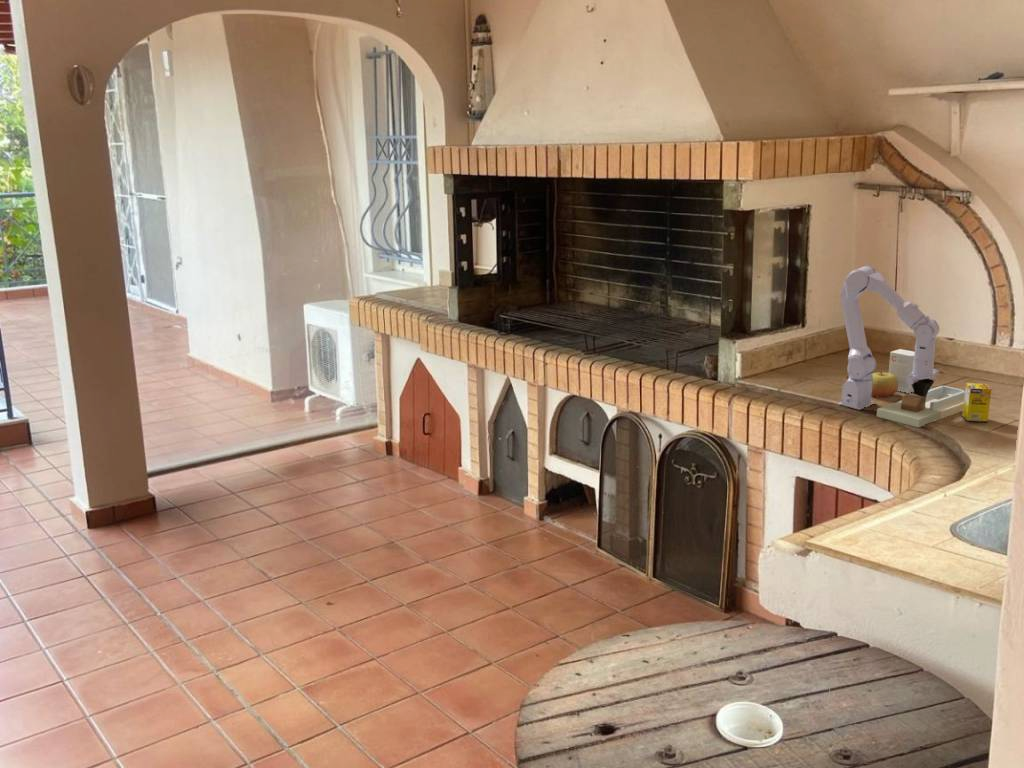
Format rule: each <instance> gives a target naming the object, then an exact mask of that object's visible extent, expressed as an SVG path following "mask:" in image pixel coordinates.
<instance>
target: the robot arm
mask: <svg viewBox="0 0 1024 768" xmlns="http://www.w3.org/2000/svg"><path fill="white" fill-rule="evenodd" d="M864 291H867V292H874V293H877V294H878V295H880V297H882V298H883V299H884V300H886V302H887V303H889V304H890V305H891V306H892V307H893V308H894V309H895V310H896V316H897V317H898V318H899V319H900V320H901V321H902V322H903V323H904V324H905V325H906V326H907V327H908V328H909V329H911V330H912V331H913V336H914V338H915V346H914V352H915V354H914V364H913V372H912V373H911V374H910V375H909V376H908V377H906V383H907V384H911V385H912V387H913V390H914V392H913V394H916V395H920V396H925V397H926V396H927V393H928V391H929V390H930V388H931V387H932V386H933V384H934V382H935V380H933V379H936V378H937V377H939V370H938V369H936V368H934V366H935V365H934V364H935V356H936V355H935V354H936V346H937V345H936V344H937V343H936V341H937V336H938V334H939V333H940V325H939V324H938V322H937V321H936V320H935V319H934V318H933V319H932V318H931V317H930V316H929V315H925V313H923V311H922V310H920V309H919V307H920V306H919V305H918V303H914V302H912V301H911V302H910V301H905V299H903V297H901V296H900V295H899V293H898V292H897V290H895V289H894V288H893V287H892V286H891V284H890V283H888V282H887V281H886V280H885V278H884V277H883V275H882V274H881V273H880V272H878V271H877V270H876V269H875V268H874V267H873V266H871V265H864V266H861V267H860V268H857V269H854V270H851V271H850V272H849V273H848V274H847V275H846V277H844V283H843V285H842V289H841V290H840V293H839V299H840V303H841V309H842V314H843V320H844V324H845V326H844V327H845V329H846V330H845V331H846V335H847V341H848V345H849V346H848V347H849V353H848V356H847V361H848V364H847V368H846V369H847V370H846V372H847V374H848V379H847V380H846V381H845V382H844V383H843V384H842V386H841V397H840V402H838V405H841V406H845V407H848V408H852V409H855V410H864V409H865V408H864V407H866V406H869V405H871V402H872V403H874V402H875V401H872V396H873V395H872V383H873V375H872V374H873V373H874V372H875V370H876V368H877V361H876V359H875V357H874V356H873V354H872V350H871V349H870V347H868V345H867V344H868V343H867V337H866V333H865V327H864V323H863V317H862V312H861V306H860V301H859V298H860V296H861V295H863V293H864ZM869 407H870V406H869ZM866 408H867V407H866Z"/></svg>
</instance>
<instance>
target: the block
mask: <svg viewBox="0 0 1024 768" xmlns="http://www.w3.org/2000/svg"><path fill="white" fill-rule="evenodd" d="M901 401H902V402H901V409H903V410H907V411H911V412H915V413H916V412H919V411H922V410H925V404H926V397H925V396H920V395H916V394H914V393H913V392H912V393H907V394H905V395H902V396H901Z"/></svg>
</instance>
